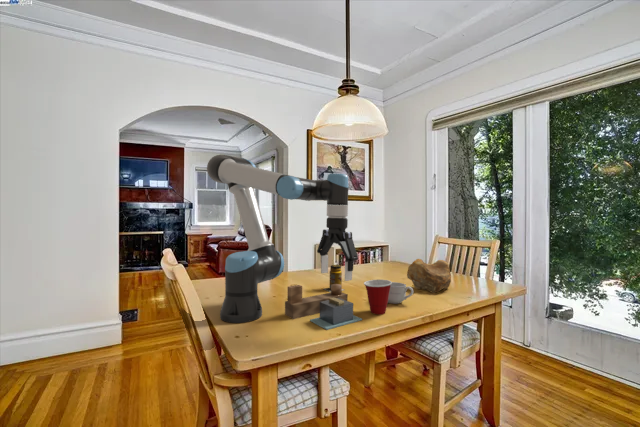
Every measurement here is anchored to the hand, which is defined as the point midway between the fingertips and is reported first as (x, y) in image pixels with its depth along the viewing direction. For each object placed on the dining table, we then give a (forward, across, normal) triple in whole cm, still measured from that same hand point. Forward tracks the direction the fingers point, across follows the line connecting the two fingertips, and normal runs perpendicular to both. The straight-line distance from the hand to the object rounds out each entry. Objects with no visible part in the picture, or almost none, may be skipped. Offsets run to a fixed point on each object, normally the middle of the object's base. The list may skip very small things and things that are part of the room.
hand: (335, 276), depth 111 cm
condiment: (+16, +33, -26) cm, 46 cm away
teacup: (+16, +1, -35) cm, 39 cm away
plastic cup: (+16, -2, -19) cm, 25 cm away
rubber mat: (+16, 0, 0) cm, 16 cm away
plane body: (+16, +12, -1) cm, 20 cm away
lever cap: (+15, 0, 0) cm, 15 cm away
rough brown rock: (+16, +6, -67) cm, 69 cm away
